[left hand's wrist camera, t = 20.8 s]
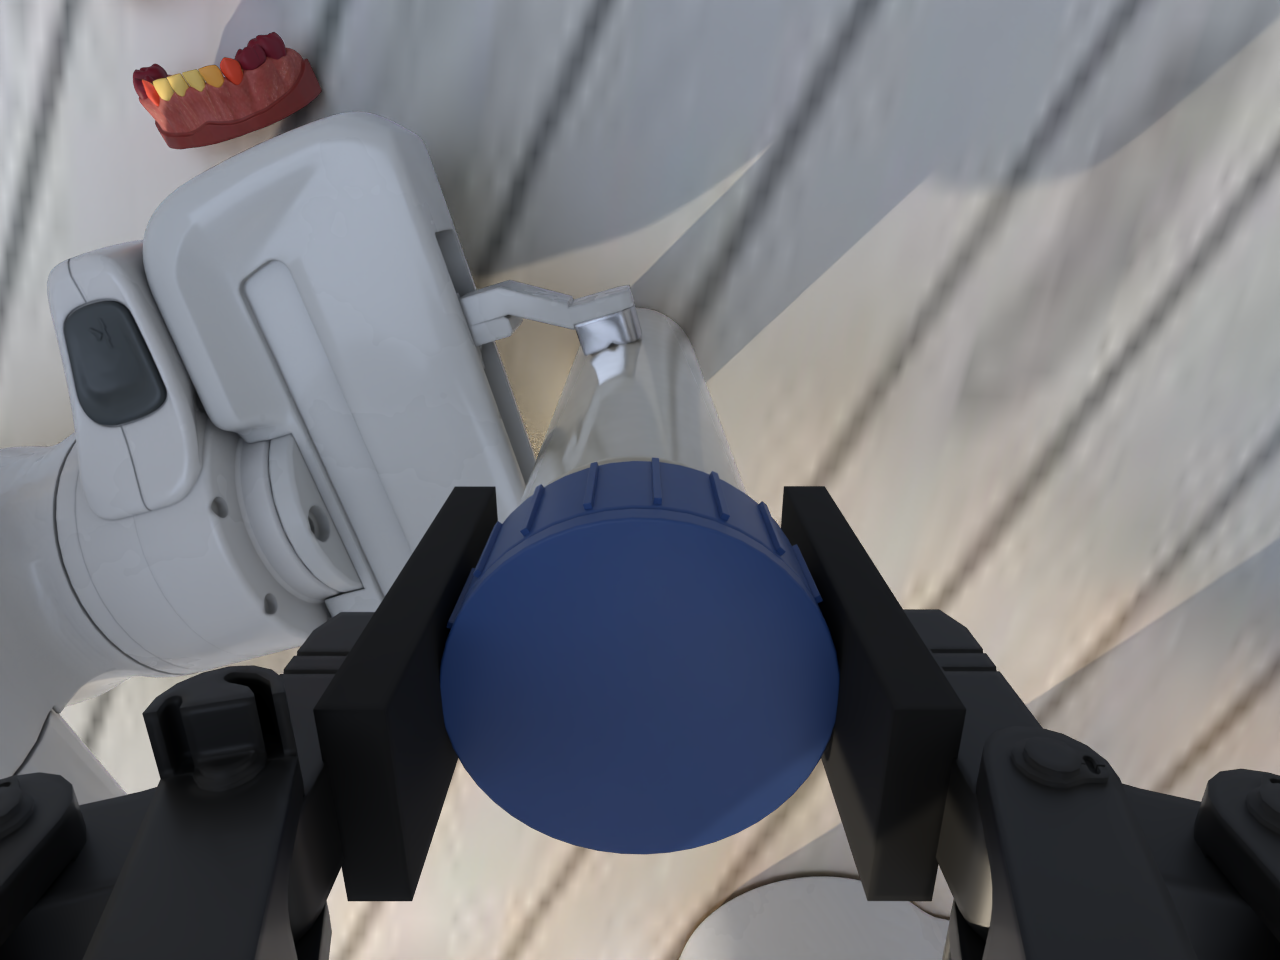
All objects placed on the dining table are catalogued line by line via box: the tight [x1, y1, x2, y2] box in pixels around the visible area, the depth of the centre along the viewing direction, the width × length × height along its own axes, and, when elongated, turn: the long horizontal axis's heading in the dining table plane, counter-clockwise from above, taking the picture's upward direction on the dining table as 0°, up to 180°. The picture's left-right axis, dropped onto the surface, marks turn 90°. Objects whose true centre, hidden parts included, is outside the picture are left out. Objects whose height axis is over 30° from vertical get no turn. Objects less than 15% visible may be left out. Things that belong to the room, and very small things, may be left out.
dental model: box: [133, 32, 322, 149], centre depth 24 cm, size 6×4×8 cm
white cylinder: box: [519, 308, 747, 506], centre depth 21 cm, size 5×5×20 cm
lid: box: [440, 458, 840, 854], centre depth 11 cm, size 6×6×2 cm
